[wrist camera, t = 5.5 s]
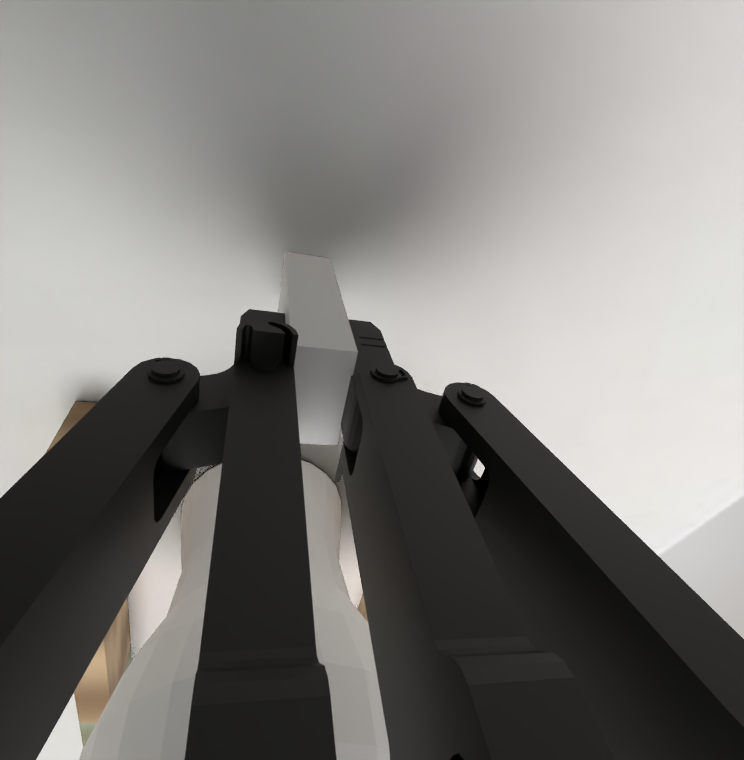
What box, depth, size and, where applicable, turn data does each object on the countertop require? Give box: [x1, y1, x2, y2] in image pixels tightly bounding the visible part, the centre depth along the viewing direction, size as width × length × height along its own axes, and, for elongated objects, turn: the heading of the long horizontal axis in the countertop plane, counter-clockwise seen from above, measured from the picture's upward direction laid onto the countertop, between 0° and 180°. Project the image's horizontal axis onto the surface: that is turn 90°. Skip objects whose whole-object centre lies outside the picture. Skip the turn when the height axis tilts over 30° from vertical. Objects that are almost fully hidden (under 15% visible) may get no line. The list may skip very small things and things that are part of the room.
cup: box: [80, 460, 390, 760], centre depth 19 cm, size 11×11×15 cm
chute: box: [46, 401, 368, 747], centre depth 25 cm, size 20×16×4 cm
